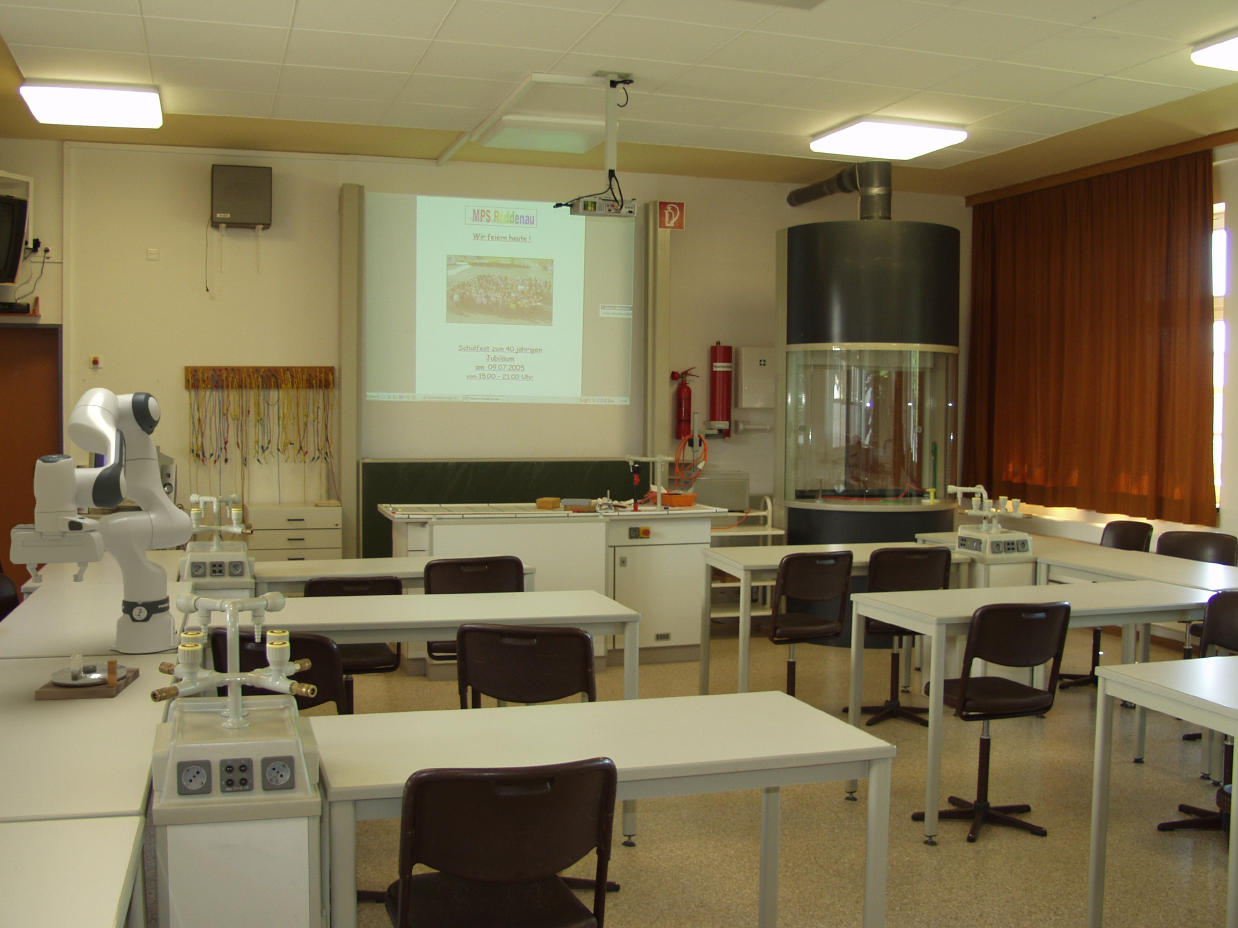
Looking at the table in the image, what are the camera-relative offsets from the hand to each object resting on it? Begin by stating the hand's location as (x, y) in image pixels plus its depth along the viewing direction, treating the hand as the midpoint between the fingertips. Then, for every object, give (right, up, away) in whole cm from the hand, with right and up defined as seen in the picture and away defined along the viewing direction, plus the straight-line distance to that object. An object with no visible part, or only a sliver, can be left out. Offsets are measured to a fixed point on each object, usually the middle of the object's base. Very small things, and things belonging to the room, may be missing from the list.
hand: (57, 582), depth 238 cm
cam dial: (+5, -24, +5) cm, 25 cm away
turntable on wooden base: (+5, -26, +5) cm, 27 cm away
